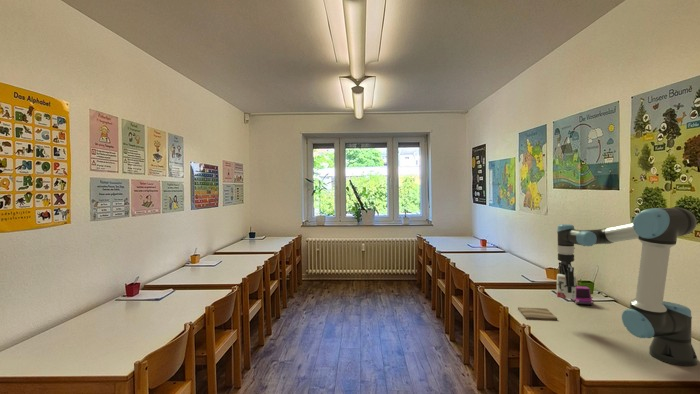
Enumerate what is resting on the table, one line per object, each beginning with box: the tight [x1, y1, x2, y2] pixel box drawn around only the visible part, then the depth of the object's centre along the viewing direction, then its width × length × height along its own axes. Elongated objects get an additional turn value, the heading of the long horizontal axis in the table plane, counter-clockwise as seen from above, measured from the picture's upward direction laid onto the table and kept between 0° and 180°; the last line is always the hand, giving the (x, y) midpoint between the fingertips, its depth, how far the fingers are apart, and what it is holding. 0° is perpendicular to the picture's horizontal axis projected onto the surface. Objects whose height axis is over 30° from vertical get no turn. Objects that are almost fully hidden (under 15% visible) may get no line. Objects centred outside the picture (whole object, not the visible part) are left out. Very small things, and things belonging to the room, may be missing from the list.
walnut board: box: [517, 306, 558, 321], centre depth 204 cm, size 16×16×1 cm
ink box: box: [556, 273, 577, 299], centre depth 189 cm, size 9×5×12 cm, turn 62°
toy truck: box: [571, 285, 594, 306], centre depth 224 cm, size 11×16×10 cm
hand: (566, 296), depth 189 cm, fingers closed on ink box, 6 cm apart
